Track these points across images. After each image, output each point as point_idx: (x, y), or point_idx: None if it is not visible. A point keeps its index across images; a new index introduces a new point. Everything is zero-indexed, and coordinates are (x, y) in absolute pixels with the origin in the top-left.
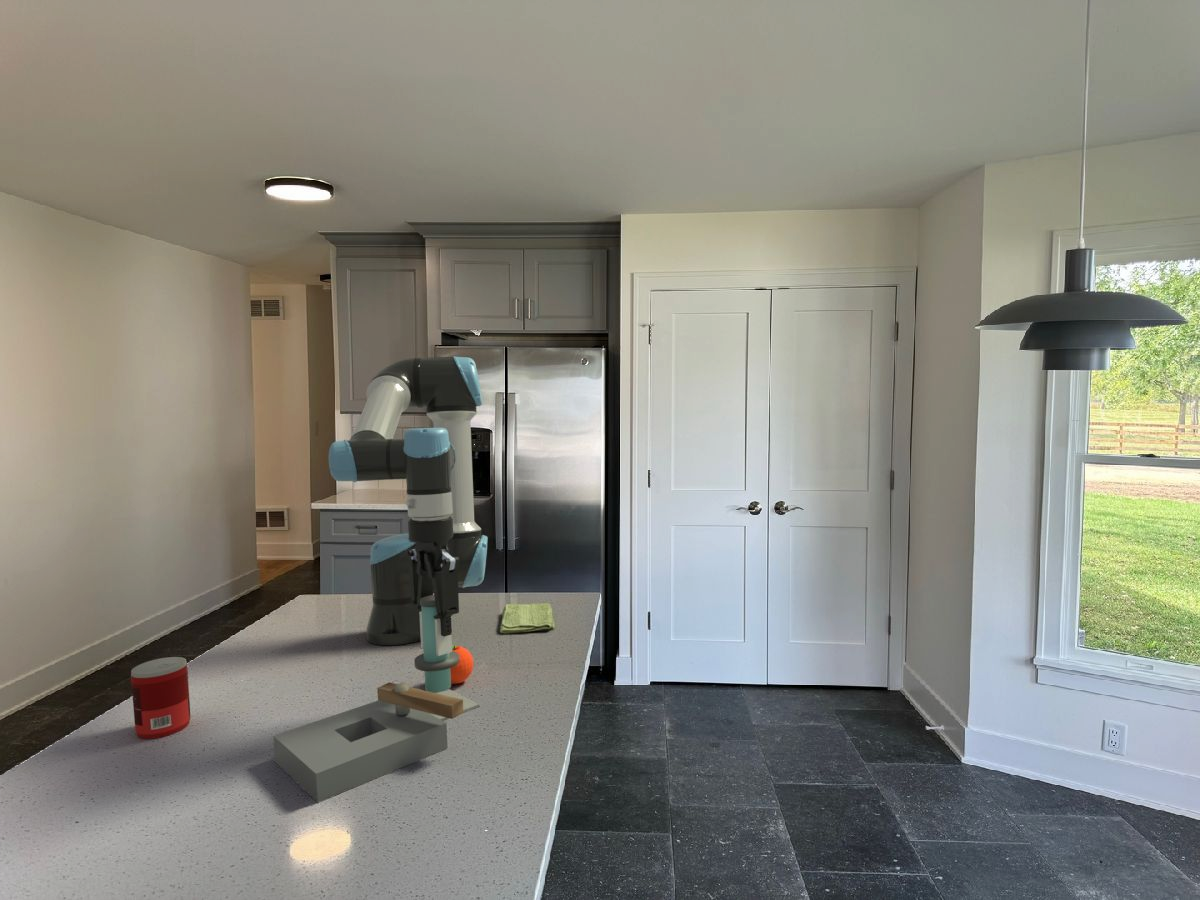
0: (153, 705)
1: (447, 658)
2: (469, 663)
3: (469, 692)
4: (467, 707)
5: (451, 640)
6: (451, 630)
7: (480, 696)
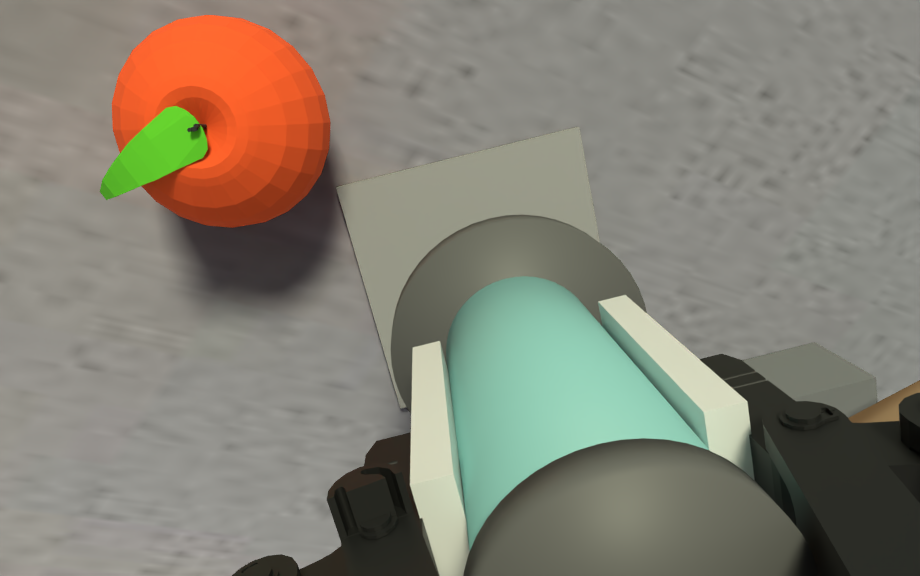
0: None
1: (585, 306)
2: (304, 65)
3: (405, 109)
4: (579, 183)
5: (652, 320)
6: (750, 367)
7: (478, 82)
